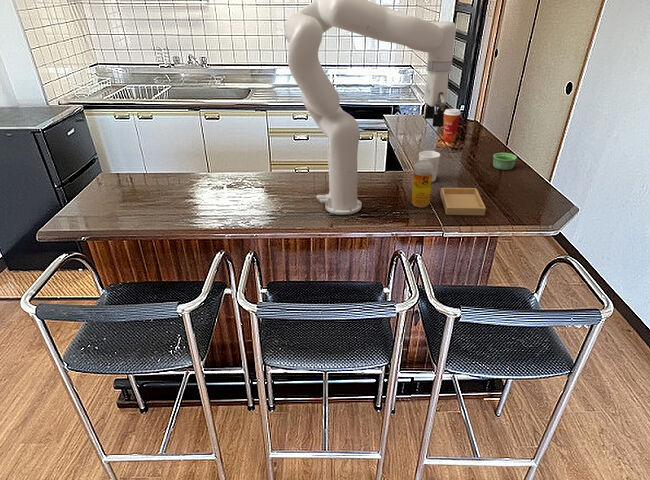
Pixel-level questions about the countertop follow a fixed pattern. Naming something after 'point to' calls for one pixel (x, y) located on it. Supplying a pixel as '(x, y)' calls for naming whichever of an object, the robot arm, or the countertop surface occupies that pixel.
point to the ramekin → (504, 161)
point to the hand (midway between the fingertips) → (433, 122)
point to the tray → (462, 201)
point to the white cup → (432, 157)
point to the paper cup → (451, 124)
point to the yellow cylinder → (422, 183)
